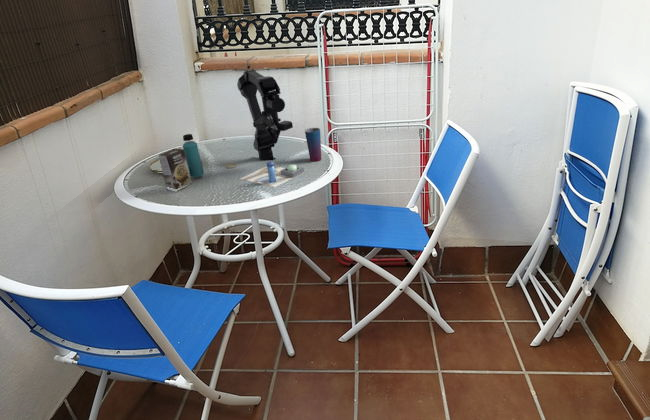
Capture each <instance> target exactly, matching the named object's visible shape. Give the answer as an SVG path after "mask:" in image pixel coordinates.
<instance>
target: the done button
mask: <svg viewBox="0 0 650 420" xmlns="http://www.w3.org/2000/svg"><path fill="white" fill-rule="evenodd" d="M296 166H297V164H289V165H287V166H286V168H287V170H288V171H291V172H293V171H295V170H297V167H296Z"/></svg>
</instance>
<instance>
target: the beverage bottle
mask: <svg viewBox="0 0 650 420" xmlns="http://www.w3.org/2000/svg"><path fill="white" fill-rule="evenodd" d="M182 138H183V139H182V140H183V141H184V142H183V145H182V149H184V152H185V156H186V160H187V165H188V169H189V173H190V178H197V177H201V176H203V175H204V172H205V171H204V167H203V162H202V160H201V159H202V158H201V155H200V152H199V148H198V143H197V142H195V141H193V140H194V137H193V134H192V133H186V134H184V135H183V136H182Z"/></svg>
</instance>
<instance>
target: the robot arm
mask: <svg viewBox="0 0 650 420" xmlns="http://www.w3.org/2000/svg"><path fill="white" fill-rule="evenodd" d="M236 86H237V89H238V91H239V92H240V95H241V96H242V97H243V98H245V100H246V102H247V105H248V108H249V112H250V115H251V118H252V121H253V122H252V124H253V126H252V127H253V128H255V133H254V134H253V135H254V136H253V137H254V141H253V148H254V150H256V151H257V153H258V158H259V160H260V161H262V162H263V161H264V162H265V161H266V162H267V161H275V160H276V157H275V156H274V154H273V150H272V149H273V148H274V147H275V144H277V143H278V141H279V137H280V134H281V132H285V131H288V130H290V129H292V128H294V126H293V122H292V121H290V120H283V121H282V119H281V118H279V115H278V113H281V112H282V111H284V109H285V107H286V102H285V101H284V99H283V98H282V97H280V95H281V88H280V87H279V86H280V85H279V84H278V82H277V80H276V79H275V78H274V77H273V76H270V75H269V76H264V75H262V74H260V73H259V72H257V70H256V69H249V70H245V71H244V72H243V74H242V75H241V76H240V77H239V78H238V80H237V85H236ZM258 93H259V94H260V97H261V103H262V108H263V110H261V107H260V104H259V102H258V98H257V94H258Z"/></svg>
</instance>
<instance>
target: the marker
mask: <svg viewBox="0 0 650 420" xmlns="http://www.w3.org/2000/svg"><path fill="white" fill-rule="evenodd" d="M266 166H267V169H268V175H269V181H270V183H274V182H276V176H275V169H274V166H275V162H274V161H266Z"/></svg>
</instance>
